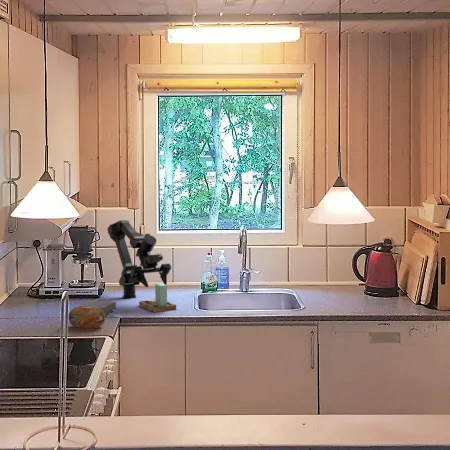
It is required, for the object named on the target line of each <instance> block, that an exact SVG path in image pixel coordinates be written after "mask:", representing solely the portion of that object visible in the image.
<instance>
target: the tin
mask: <svg viewBox="0 0 450 450" xmlns="http://www.w3.org/2000/svg"><path fill="white" fill-rule="evenodd" d="M68 321H69V324H70V325H71V326H73V327H74V328H77V327H82V328H81V329H98V328H100V327H101V326H103V325H104V324H105V322H106V316H105V313H104V311H103V310H102V309H100V308H98V307H79V306H77V307H74V308H72V309H71V310H70V311H69V313H68Z"/></svg>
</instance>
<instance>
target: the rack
mask: <svg viewBox="0 0 450 450" xmlns="http://www.w3.org/2000/svg"><path fill="white" fill-rule="evenodd" d="M149 300H150V299H147V300H140V301H139V302H138V304H139V305H138V306H139V307H141V308H143V309H146V310H148V311H151V312H152V313H160V312H165V311H167V312H168V311H174V310H177V304H176V303H173V302H170V301H168V300H167V306H157V305H155V304H153V306H151V305H149V304H148V301H149ZM153 300H155V299H153Z"/></svg>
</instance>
